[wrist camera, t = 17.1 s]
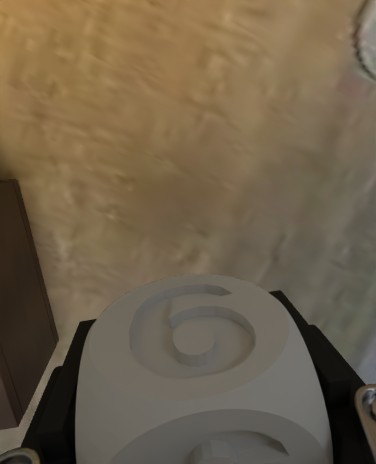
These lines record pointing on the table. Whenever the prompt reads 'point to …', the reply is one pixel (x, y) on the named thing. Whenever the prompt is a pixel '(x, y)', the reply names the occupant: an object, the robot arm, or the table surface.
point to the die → (199, 379)
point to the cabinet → (20, 310)
